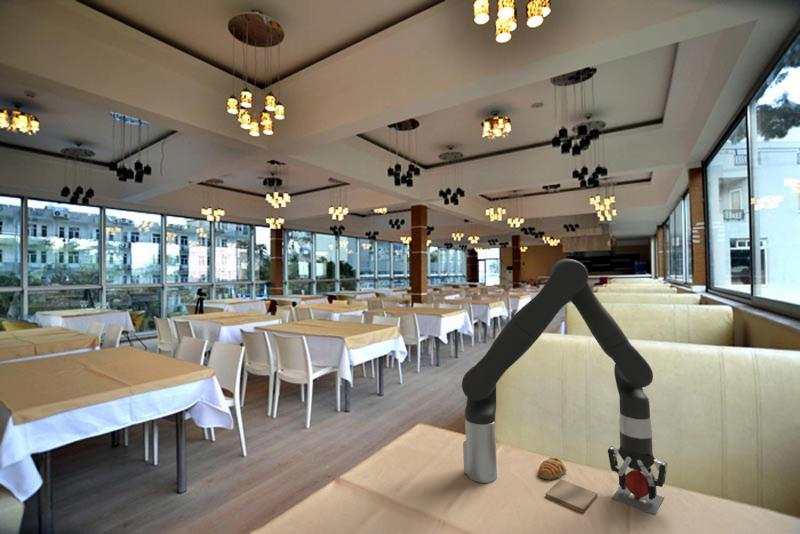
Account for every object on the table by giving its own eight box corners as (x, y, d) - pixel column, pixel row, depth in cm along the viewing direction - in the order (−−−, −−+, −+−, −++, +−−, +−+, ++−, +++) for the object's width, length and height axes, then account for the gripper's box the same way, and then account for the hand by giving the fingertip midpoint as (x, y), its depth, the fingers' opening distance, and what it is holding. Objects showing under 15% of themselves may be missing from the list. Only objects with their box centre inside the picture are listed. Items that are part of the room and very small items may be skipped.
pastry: (553, 484, 108) (553, 471, 108) (532, 476, 113) (532, 463, 113) (568, 473, 114) (567, 460, 114) (547, 465, 119) (546, 453, 119)
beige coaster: (545, 496, 101) (545, 493, 102) (560, 482, 108) (560, 479, 108) (583, 513, 94) (583, 509, 94) (597, 496, 101) (597, 493, 101)
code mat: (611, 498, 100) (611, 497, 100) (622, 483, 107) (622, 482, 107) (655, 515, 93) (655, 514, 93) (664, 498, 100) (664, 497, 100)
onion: (646, 493, 102) (645, 464, 102) (653, 505, 96) (652, 474, 97) (623, 489, 104) (622, 461, 104) (628, 501, 98) (627, 471, 98)
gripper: (602, 427, 103) (604, 488, 103) (663, 444, 93) (666, 511, 92) (610, 420, 108) (612, 477, 108) (670, 434, 98) (672, 498, 97)
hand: (637, 493), depth 100 cm, fingers closed on onion, 6 cm apart
